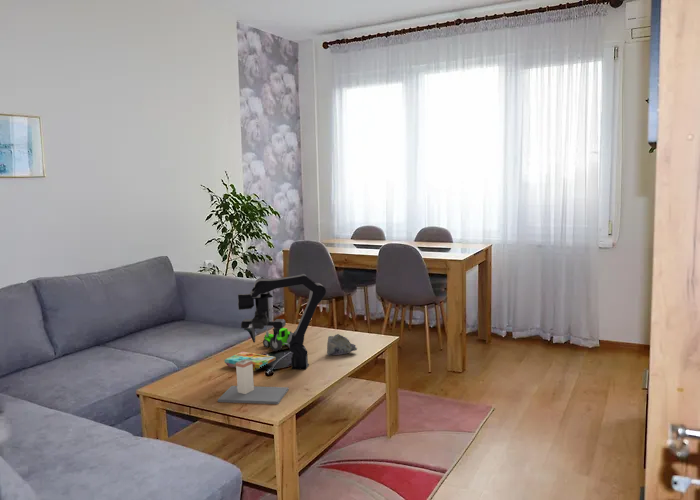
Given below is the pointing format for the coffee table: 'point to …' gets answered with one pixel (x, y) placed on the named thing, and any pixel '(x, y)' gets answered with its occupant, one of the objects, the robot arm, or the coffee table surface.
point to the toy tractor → (280, 340)
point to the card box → (245, 376)
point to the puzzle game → (255, 358)
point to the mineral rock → (339, 345)
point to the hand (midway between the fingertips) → (264, 342)
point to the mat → (255, 395)
